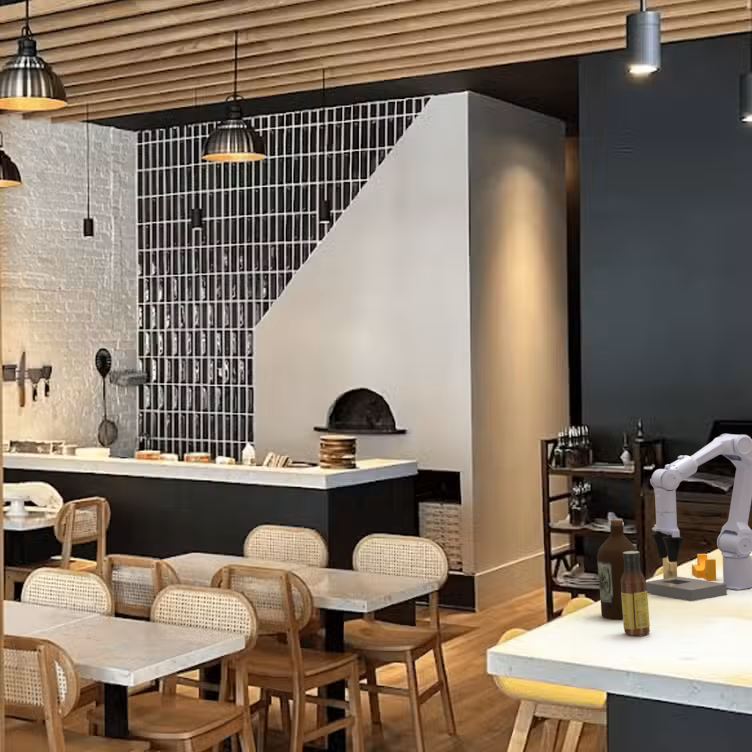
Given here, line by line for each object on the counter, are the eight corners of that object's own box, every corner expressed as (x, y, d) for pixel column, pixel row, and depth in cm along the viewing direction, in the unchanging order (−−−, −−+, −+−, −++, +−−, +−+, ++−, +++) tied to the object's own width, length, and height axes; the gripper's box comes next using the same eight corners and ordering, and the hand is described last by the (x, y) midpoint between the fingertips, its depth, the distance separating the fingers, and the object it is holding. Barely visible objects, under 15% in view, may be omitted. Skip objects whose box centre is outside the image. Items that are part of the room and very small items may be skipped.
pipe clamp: (692, 575, 384) (691, 554, 384) (706, 574, 384) (705, 553, 384) (701, 581, 372) (701, 560, 372) (716, 581, 372) (715, 559, 372)
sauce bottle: (651, 631, 304) (648, 550, 304) (648, 637, 298) (645, 553, 298) (624, 630, 306) (621, 549, 306) (620, 636, 300) (617, 553, 300)
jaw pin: (670, 582, 372) (669, 555, 372) (680, 583, 369) (679, 556, 369) (660, 583, 370) (659, 556, 370) (670, 585, 367) (669, 558, 367)
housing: (678, 586, 364) (678, 576, 364) (726, 594, 349) (726, 583, 349) (643, 592, 356) (643, 582, 356) (691, 601, 341) (691, 590, 341)
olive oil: (628, 611, 330) (625, 516, 330) (648, 618, 320) (645, 520, 320) (591, 614, 327) (588, 519, 327) (611, 622, 317) (607, 523, 317)
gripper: (643, 509, 359) (645, 556, 359) (661, 515, 345) (663, 564, 345) (667, 508, 360) (668, 555, 360) (686, 513, 346) (688, 562, 346)
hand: (667, 559), depth 353 cm, fingers open, 7 cm apart
